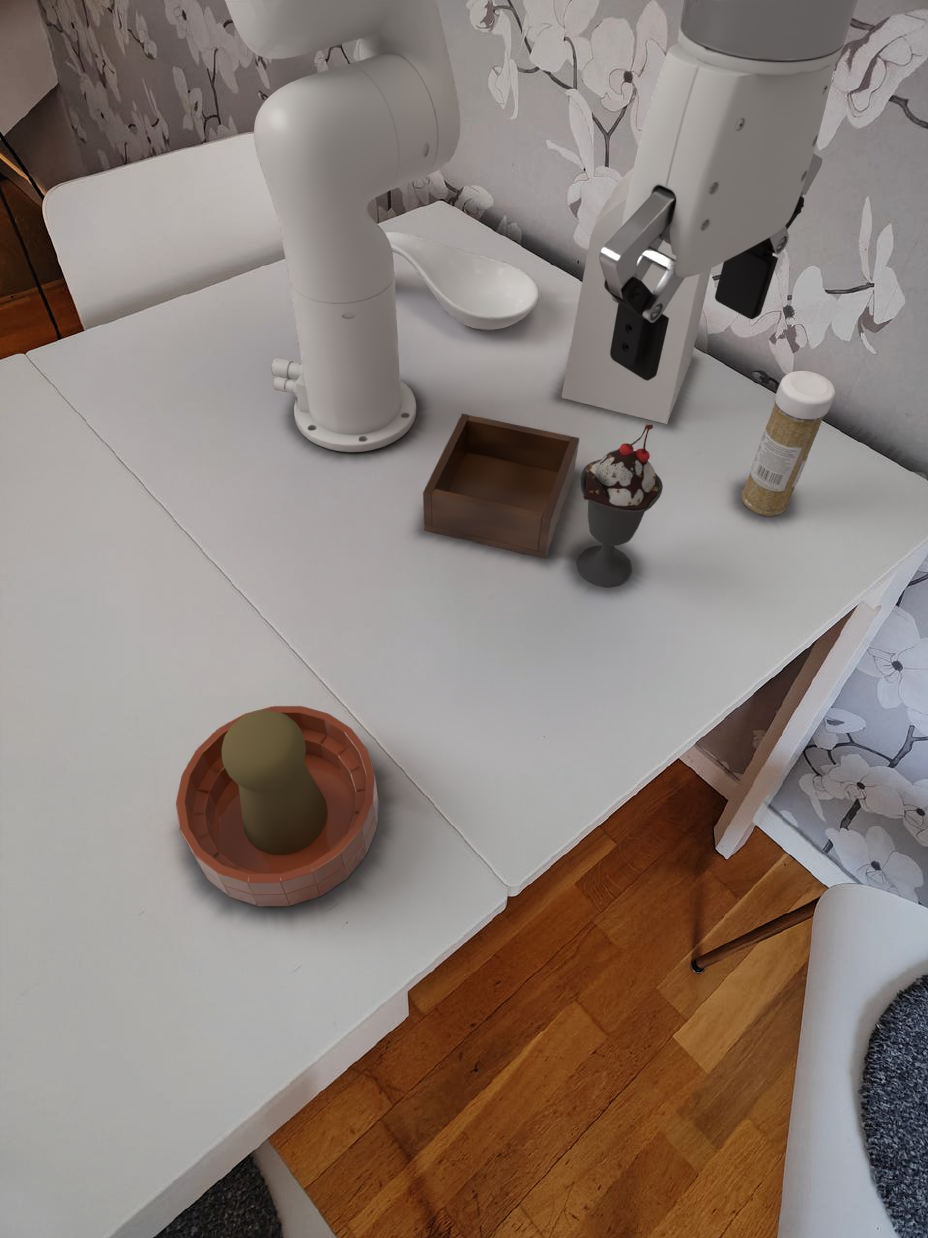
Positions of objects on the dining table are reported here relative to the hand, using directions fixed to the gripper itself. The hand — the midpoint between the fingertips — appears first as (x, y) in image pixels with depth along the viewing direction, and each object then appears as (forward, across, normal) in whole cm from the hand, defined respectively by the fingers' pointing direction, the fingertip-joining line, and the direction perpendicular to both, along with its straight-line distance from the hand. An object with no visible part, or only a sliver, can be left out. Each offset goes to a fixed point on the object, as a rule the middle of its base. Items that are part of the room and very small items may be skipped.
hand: (686, 337), depth 53 cm
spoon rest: (+28, -19, -46) cm, 57 cm away
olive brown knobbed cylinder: (+27, +32, -3) cm, 42 cm away
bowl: (+27, +32, -3) cm, 42 cm away
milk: (+28, -26, -22) cm, 44 cm away
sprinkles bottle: (+28, -21, -1) cm, 35 cm away
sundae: (+28, -3, -5) cm, 28 cm away
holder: (+27, -2, -17) cm, 32 cm away
